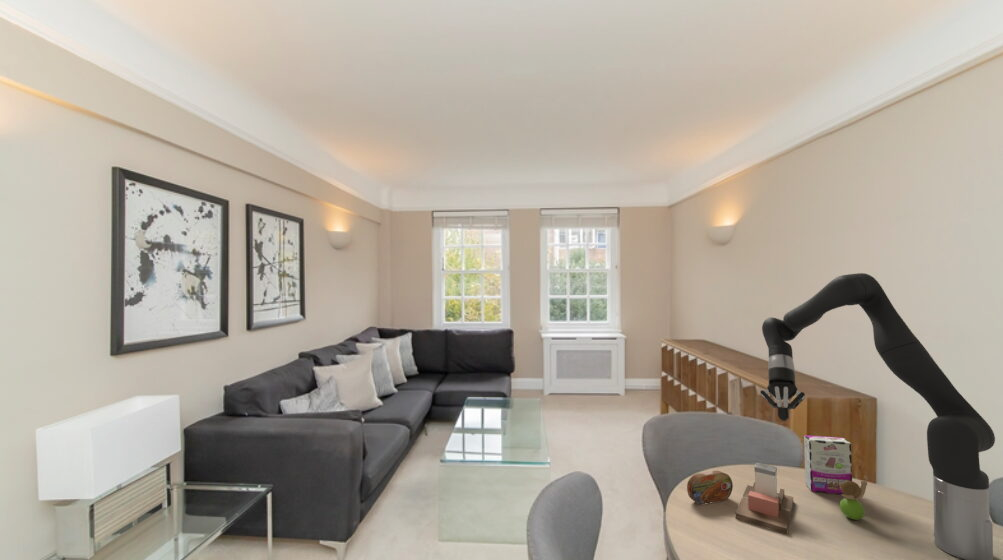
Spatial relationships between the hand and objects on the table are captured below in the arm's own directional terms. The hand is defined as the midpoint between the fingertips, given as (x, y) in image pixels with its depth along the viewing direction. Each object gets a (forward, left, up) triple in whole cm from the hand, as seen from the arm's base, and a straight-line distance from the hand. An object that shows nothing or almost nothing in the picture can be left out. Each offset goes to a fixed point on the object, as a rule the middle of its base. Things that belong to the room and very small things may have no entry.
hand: (783, 420), depth 134 cm
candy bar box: (-11, -6, -22) cm, 25 cm away
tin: (+17, +23, -22) cm, 36 cm away
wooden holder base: (+3, +19, -22) cm, 29 cm away
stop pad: (+3, +23, -20) cm, 31 cm away
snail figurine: (-17, +9, -22) cm, 29 cm away
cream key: (+3, +18, -20) cm, 27 cm away
